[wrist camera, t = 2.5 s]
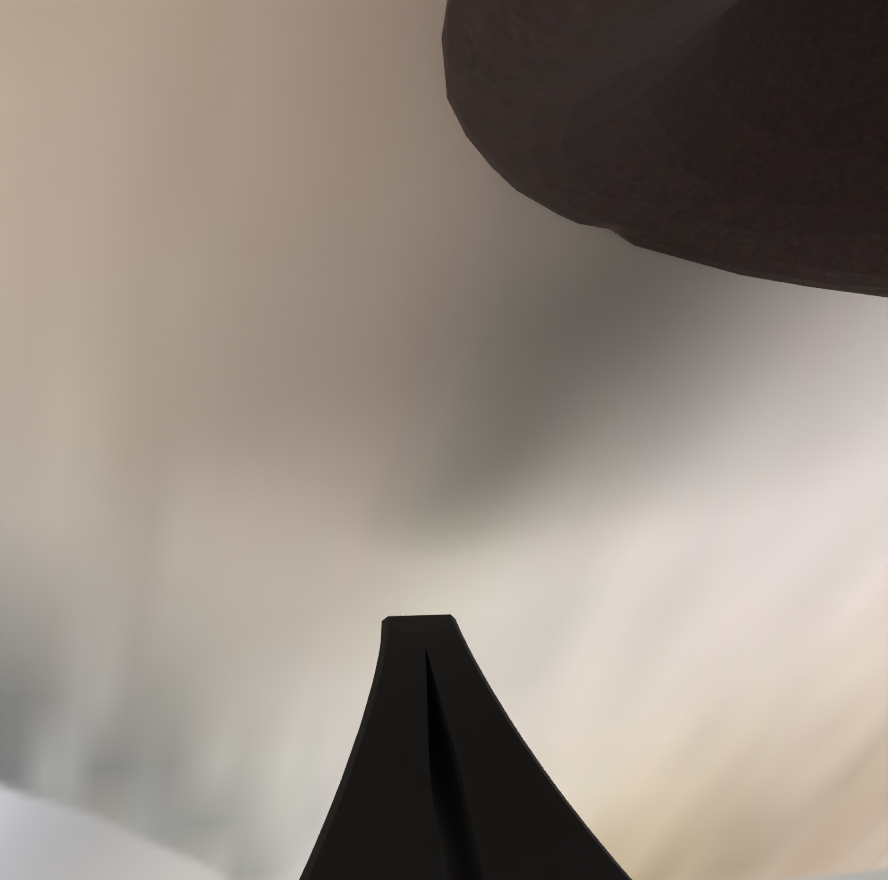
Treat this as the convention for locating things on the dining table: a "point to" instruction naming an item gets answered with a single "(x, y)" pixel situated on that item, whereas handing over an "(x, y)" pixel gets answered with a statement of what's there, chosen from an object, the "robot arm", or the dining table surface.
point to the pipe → (691, 125)
